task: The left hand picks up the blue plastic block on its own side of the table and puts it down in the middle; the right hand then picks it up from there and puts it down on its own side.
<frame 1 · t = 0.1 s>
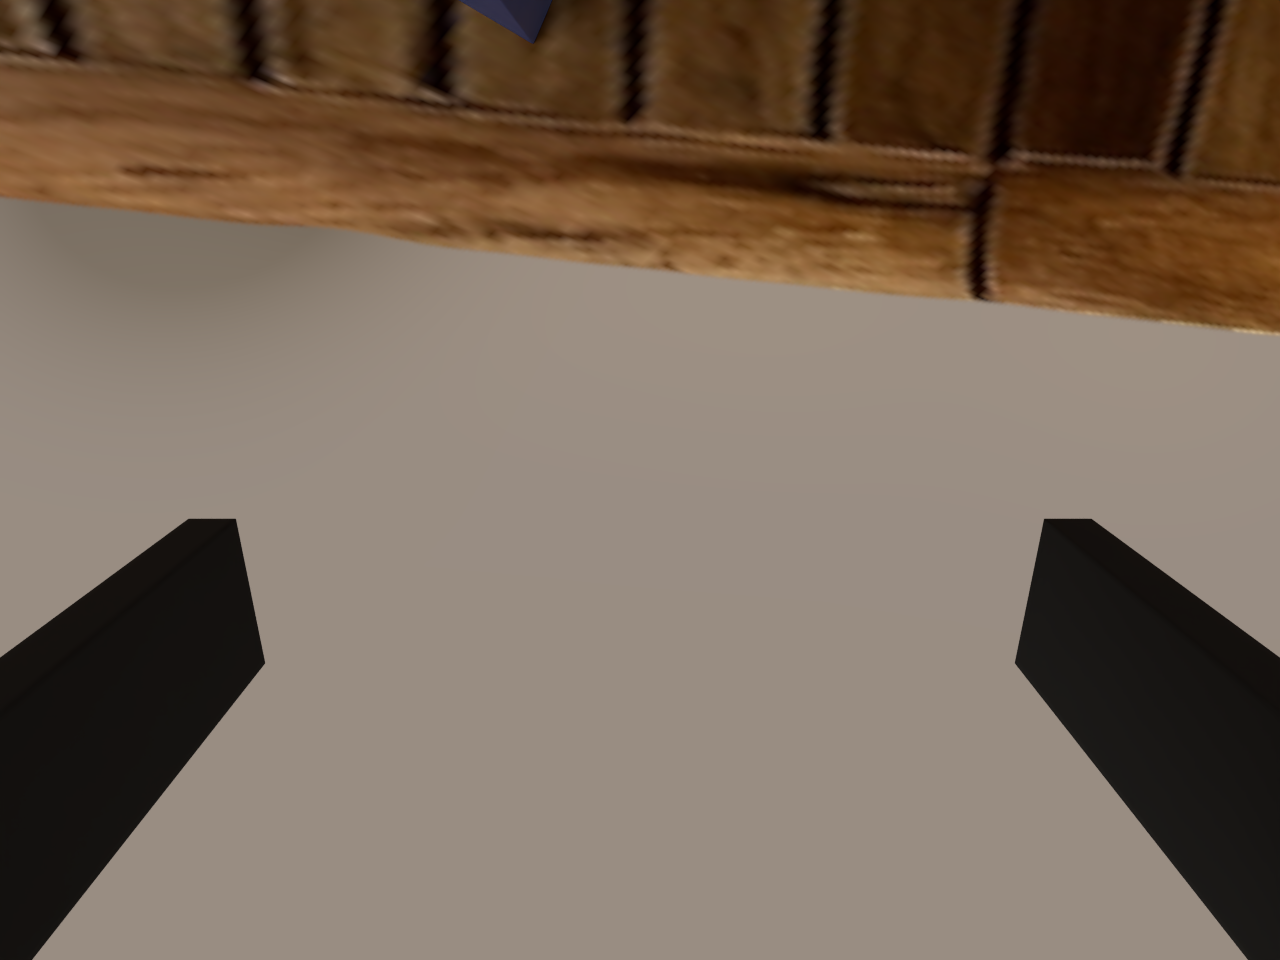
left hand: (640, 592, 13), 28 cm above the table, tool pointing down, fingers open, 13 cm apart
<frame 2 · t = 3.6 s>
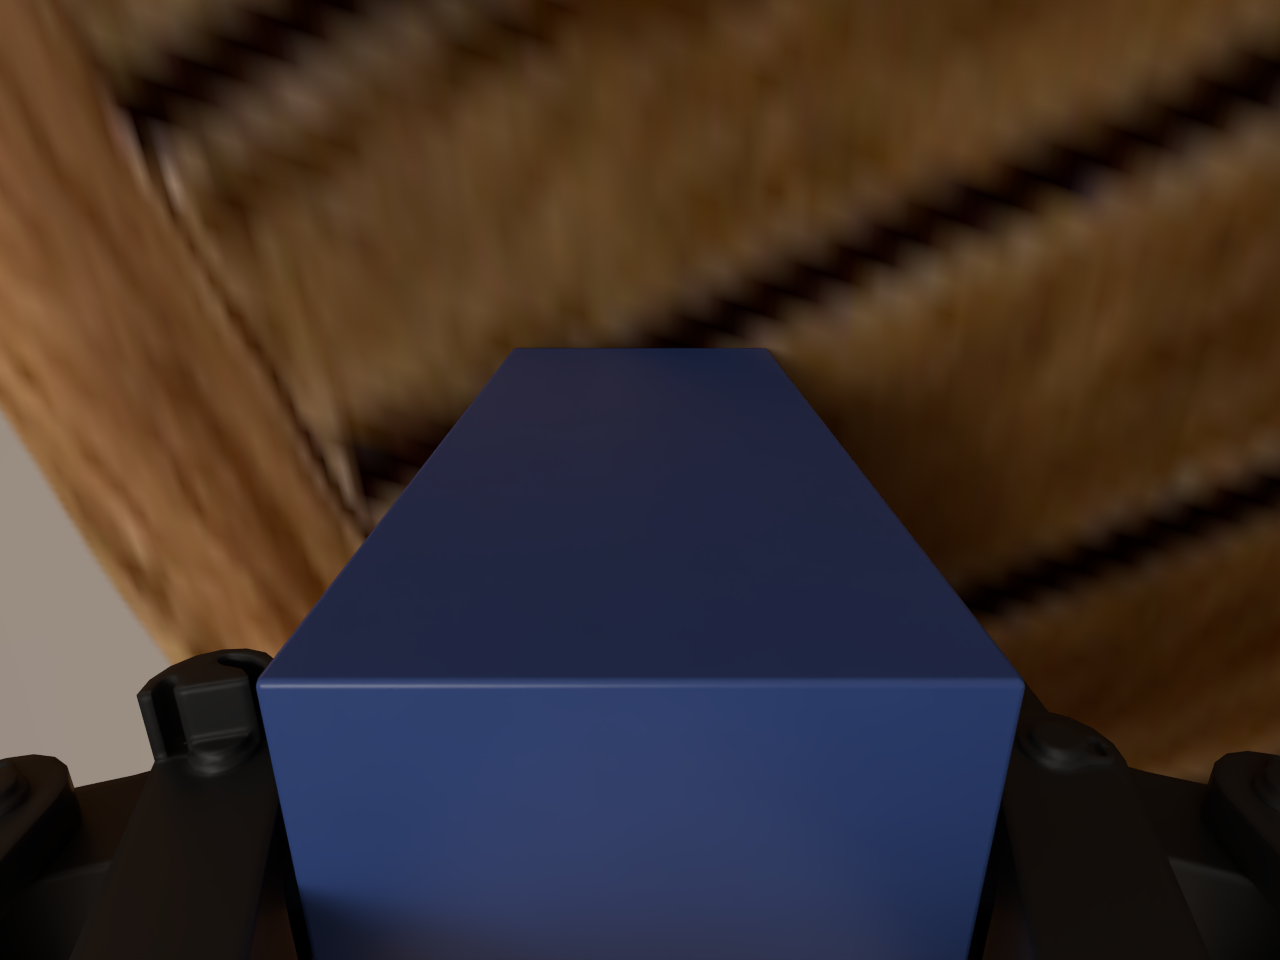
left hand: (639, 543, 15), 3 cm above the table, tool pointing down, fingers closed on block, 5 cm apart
block: (640, 480, 18), on the table, touching left hand
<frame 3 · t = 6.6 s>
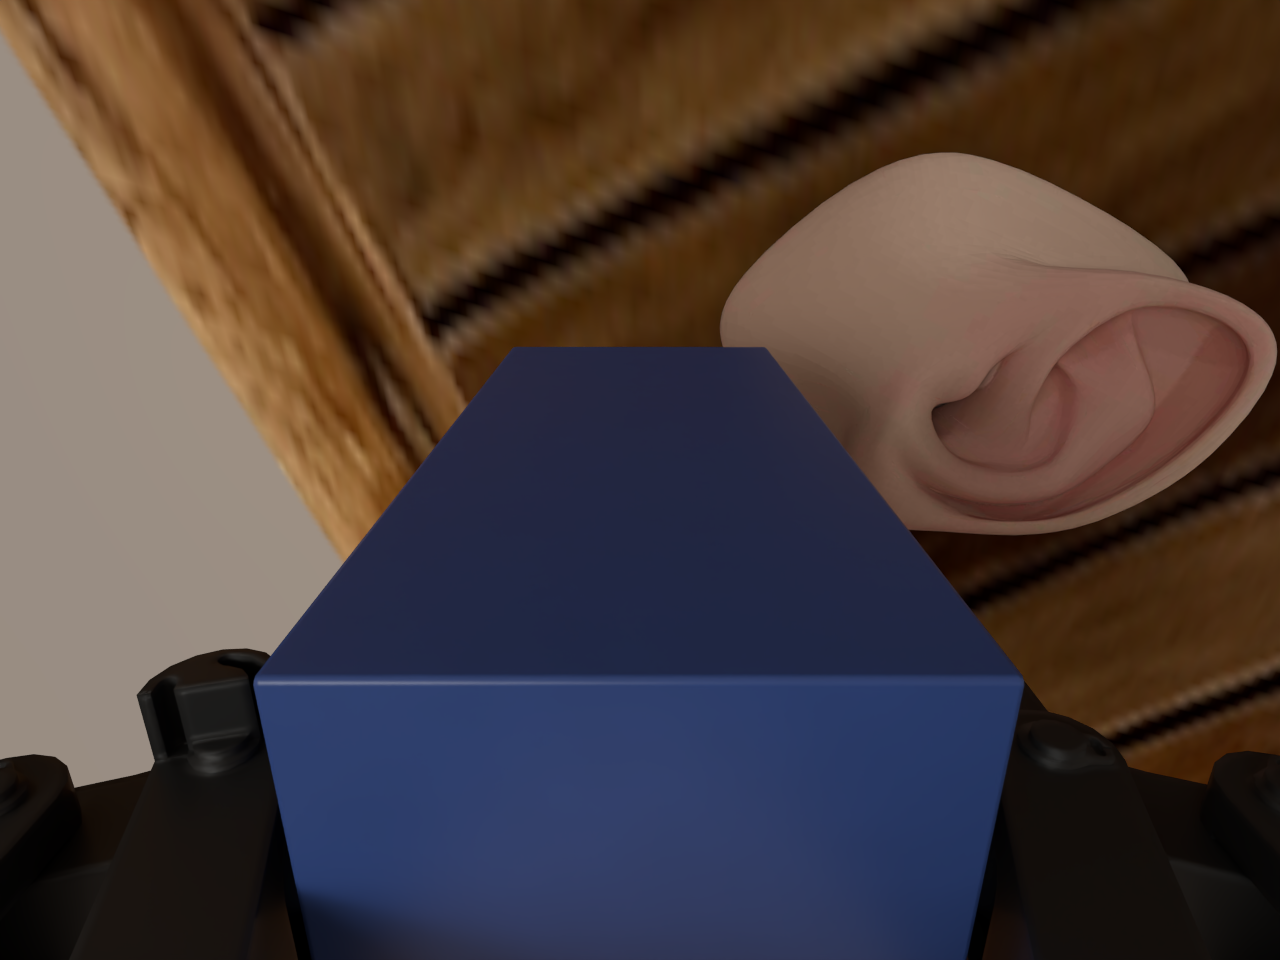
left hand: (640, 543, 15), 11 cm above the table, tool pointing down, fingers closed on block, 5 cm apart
block: (639, 479, 18), point 7 cm above the table, touching left hand
anatomical model: (944, 351, 24), on the table
when the left hand's fingers open (5 cm above the table, at t = 9.7 s): block drops 1 cm, on the table.
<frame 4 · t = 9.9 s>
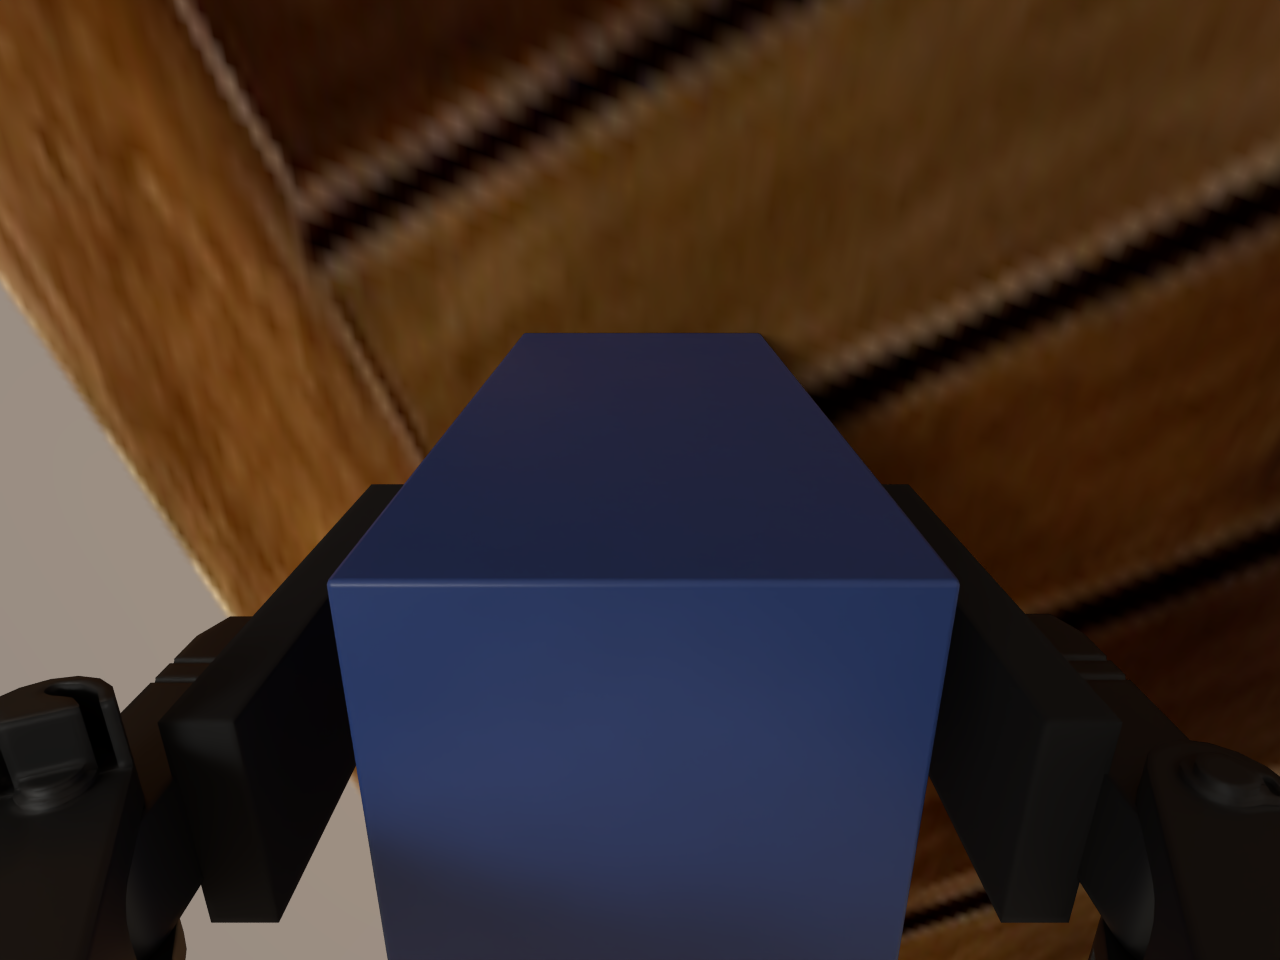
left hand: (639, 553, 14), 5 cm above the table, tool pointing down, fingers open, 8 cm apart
block: (641, 457, 19), on the table
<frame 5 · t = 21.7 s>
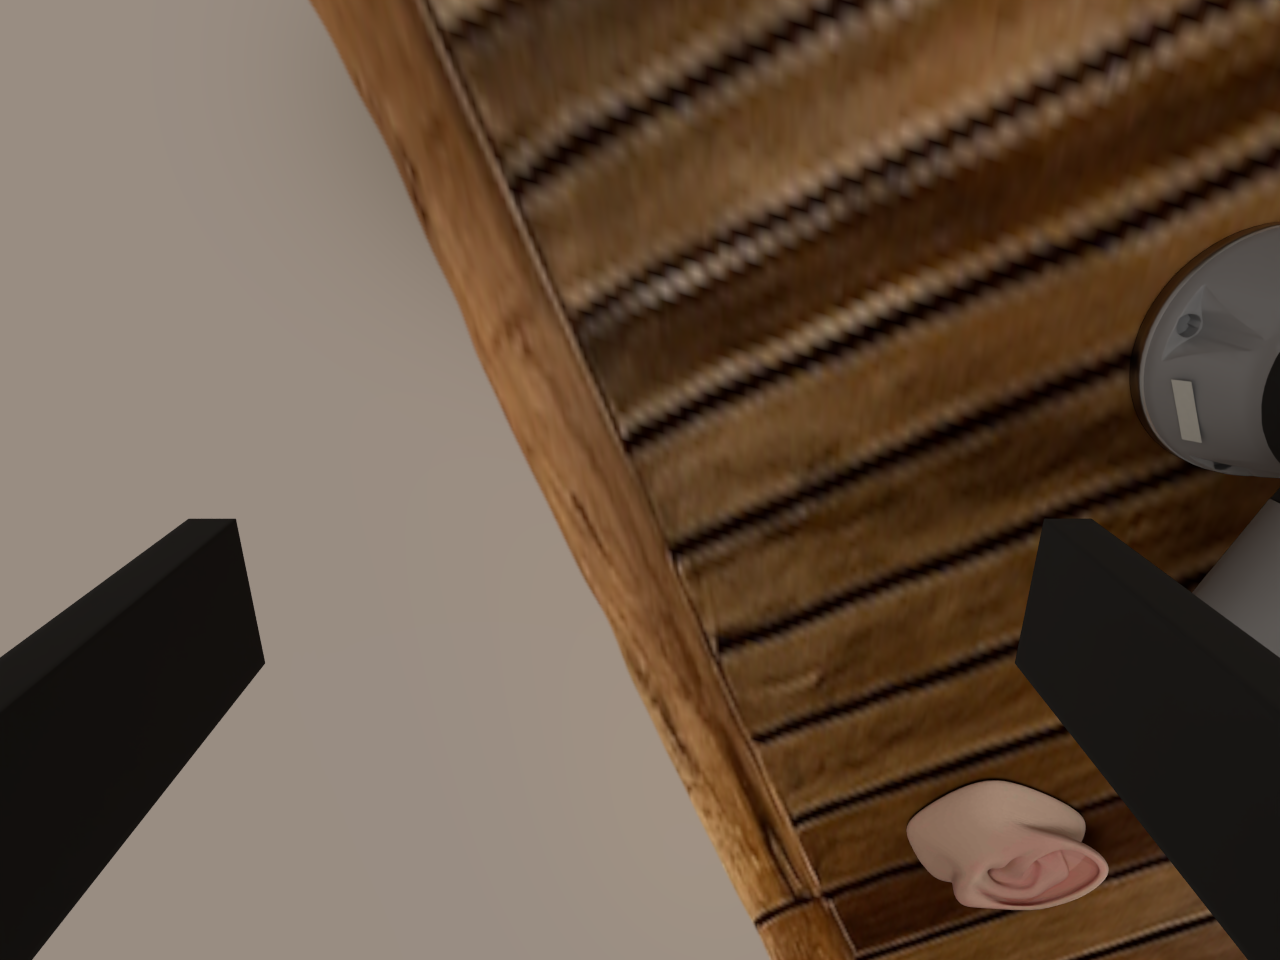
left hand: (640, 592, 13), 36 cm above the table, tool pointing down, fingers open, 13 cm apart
anatomical model: (991, 834, 62), on the table
when the right hand's fingers open (8 cm above the table, at t = 27.6 s): block drops 1 cm, on the table.
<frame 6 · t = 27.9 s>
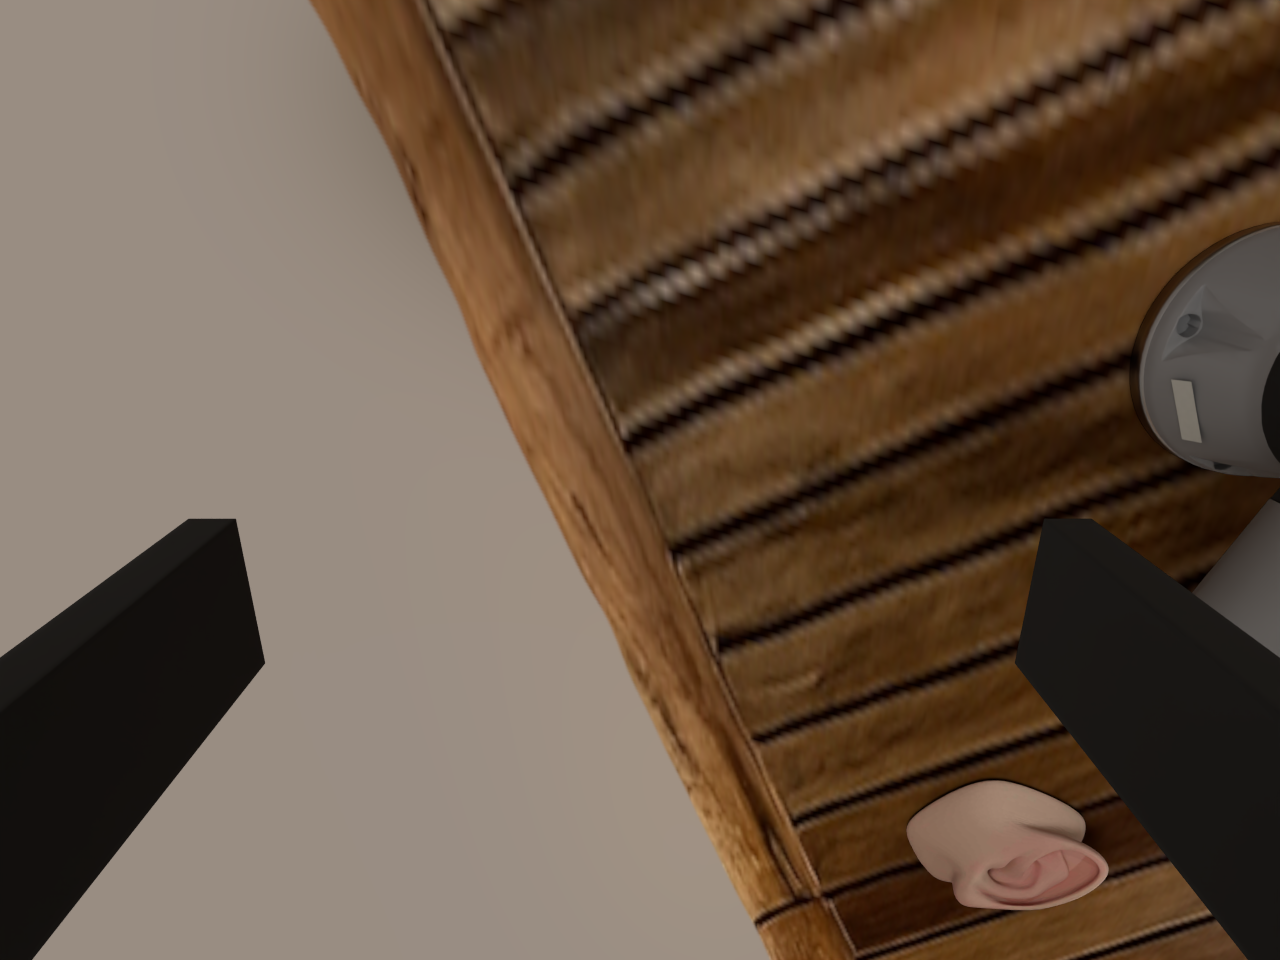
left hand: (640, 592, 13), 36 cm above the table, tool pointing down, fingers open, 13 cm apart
anatomical model: (991, 834, 62), on the table
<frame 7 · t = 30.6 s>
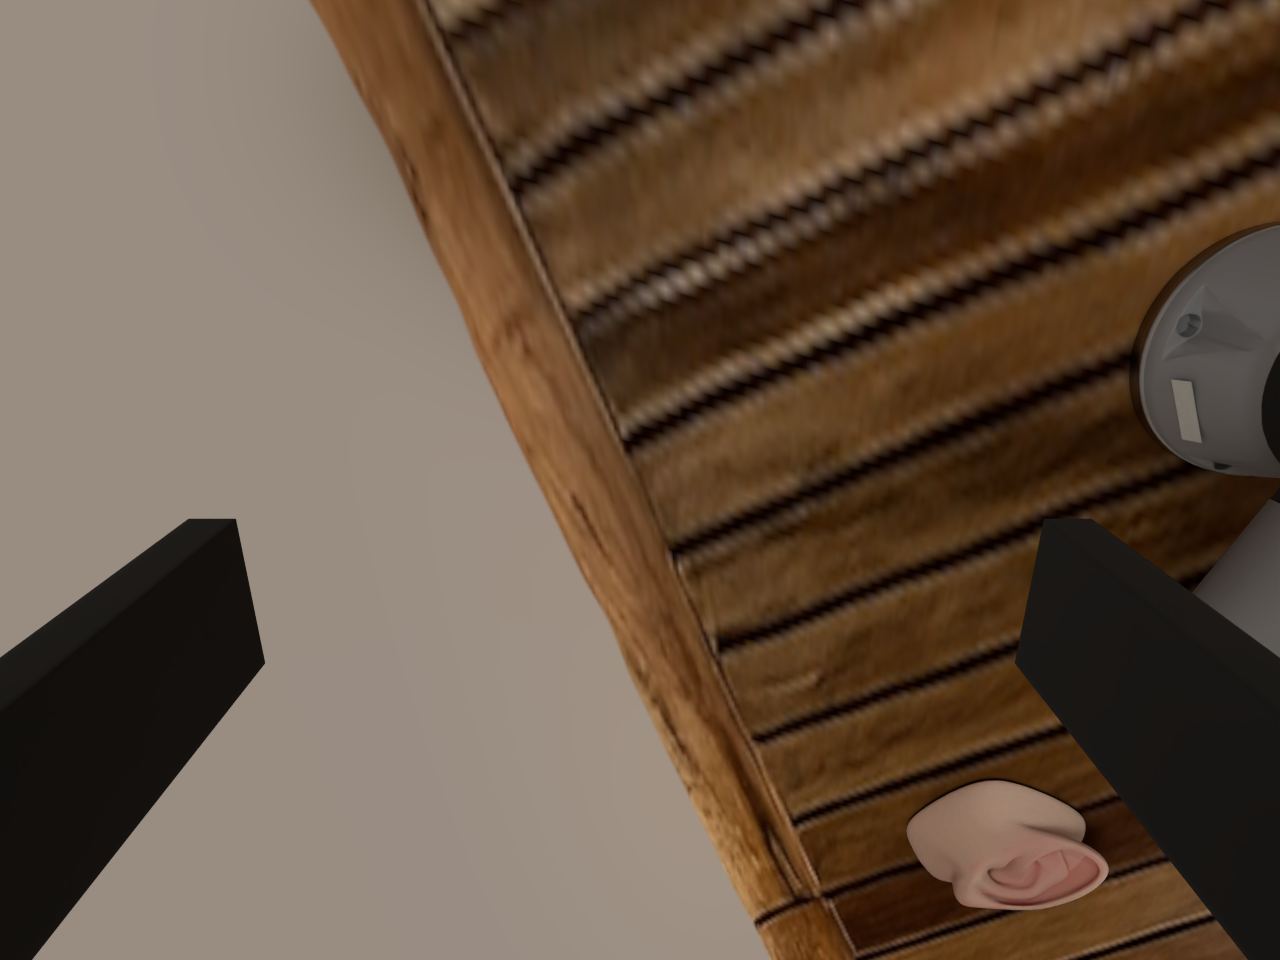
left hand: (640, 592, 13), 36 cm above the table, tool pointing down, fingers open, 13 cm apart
anatomical model: (991, 834, 62), on the table
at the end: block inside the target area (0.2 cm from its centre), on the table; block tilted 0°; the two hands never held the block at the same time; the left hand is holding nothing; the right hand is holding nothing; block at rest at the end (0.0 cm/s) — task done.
